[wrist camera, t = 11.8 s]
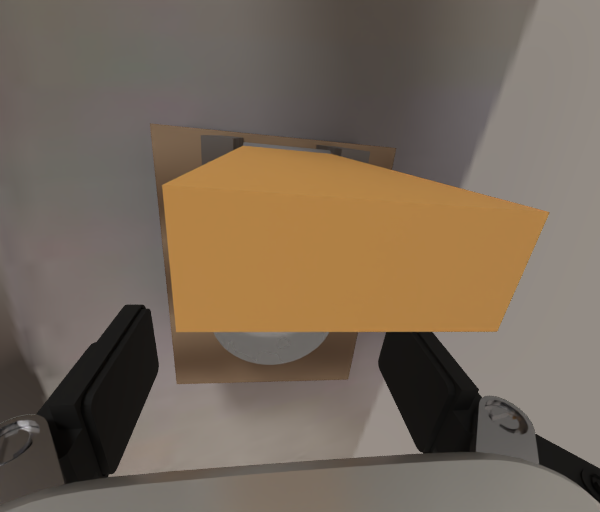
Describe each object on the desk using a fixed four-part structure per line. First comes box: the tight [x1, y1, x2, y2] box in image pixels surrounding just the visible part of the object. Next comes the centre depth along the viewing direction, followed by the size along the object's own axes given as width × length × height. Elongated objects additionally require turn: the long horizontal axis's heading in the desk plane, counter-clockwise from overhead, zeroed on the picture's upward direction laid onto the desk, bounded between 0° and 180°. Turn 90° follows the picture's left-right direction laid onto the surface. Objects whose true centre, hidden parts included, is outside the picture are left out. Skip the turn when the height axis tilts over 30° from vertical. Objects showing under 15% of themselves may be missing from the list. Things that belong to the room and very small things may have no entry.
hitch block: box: [150, 124, 396, 384], centre depth 17 cm, size 16×12×11 cm
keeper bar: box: [162, 142, 549, 332], centre depth 7 cm, size 9×3×1 cm
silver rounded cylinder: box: [213, 332, 329, 365], centre depth 18 cm, size 6×6×9 cm
